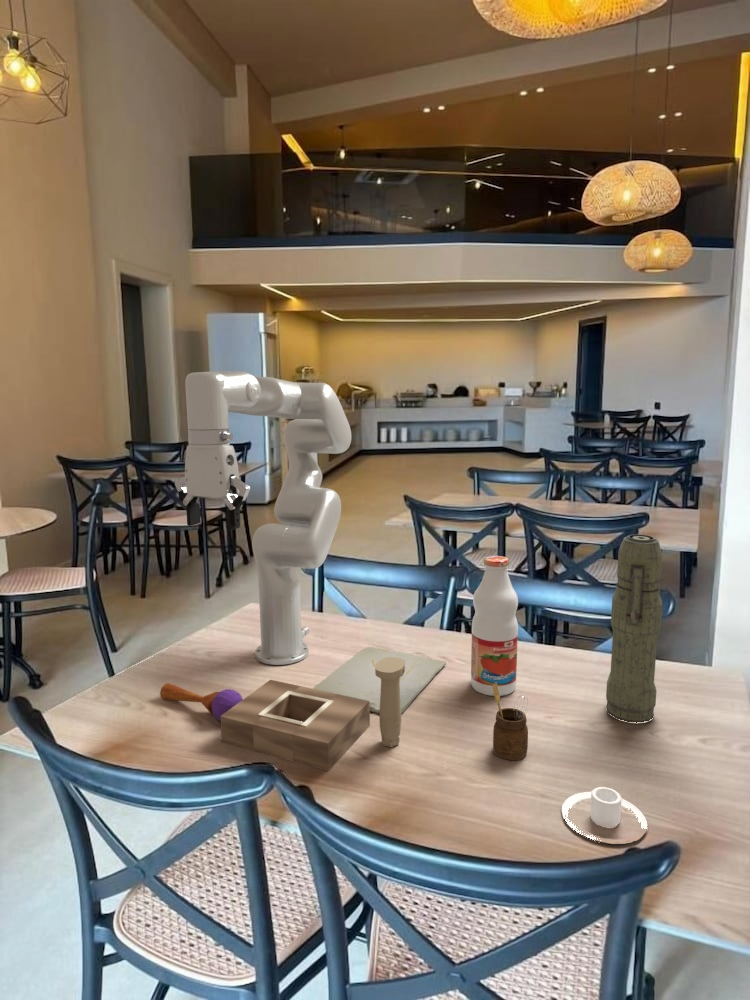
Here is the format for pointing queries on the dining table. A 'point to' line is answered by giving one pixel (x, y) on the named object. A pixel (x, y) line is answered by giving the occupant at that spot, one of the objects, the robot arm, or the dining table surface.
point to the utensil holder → (510, 731)
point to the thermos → (635, 630)
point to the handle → (390, 698)
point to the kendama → (203, 698)
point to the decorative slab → (364, 683)
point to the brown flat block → (296, 723)
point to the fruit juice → (494, 630)
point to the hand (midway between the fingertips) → (213, 526)
